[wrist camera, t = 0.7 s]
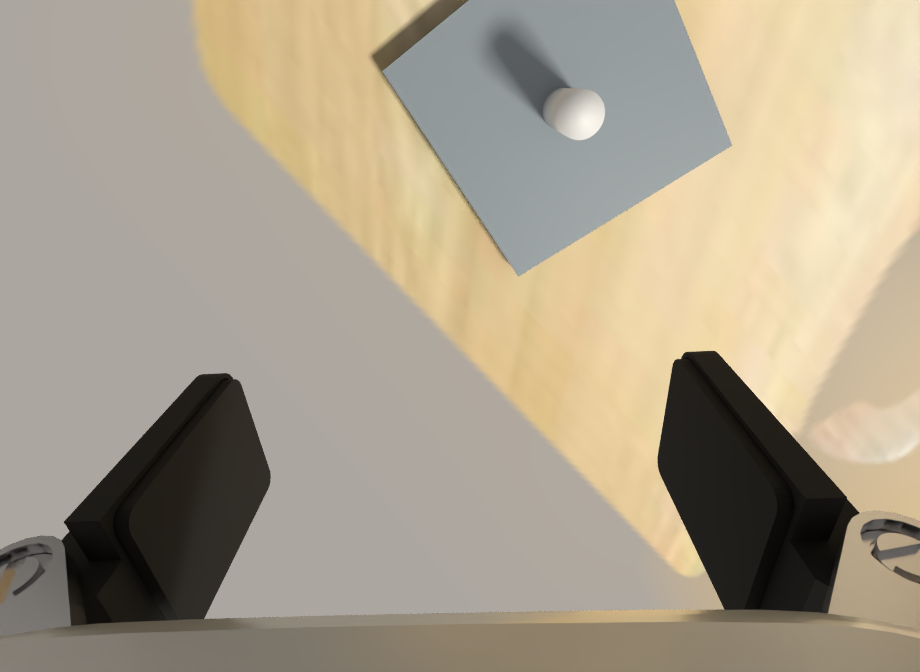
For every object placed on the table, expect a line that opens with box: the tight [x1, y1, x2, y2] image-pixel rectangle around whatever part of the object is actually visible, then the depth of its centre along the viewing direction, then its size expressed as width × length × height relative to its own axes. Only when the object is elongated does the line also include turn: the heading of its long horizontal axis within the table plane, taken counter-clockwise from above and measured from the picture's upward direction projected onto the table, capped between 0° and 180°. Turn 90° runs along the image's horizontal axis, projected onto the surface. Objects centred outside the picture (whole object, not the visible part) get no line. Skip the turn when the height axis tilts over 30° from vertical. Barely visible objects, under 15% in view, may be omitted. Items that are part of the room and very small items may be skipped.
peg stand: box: [382, 0, 732, 276], centre depth 28 cm, size 16×16×8 cm
